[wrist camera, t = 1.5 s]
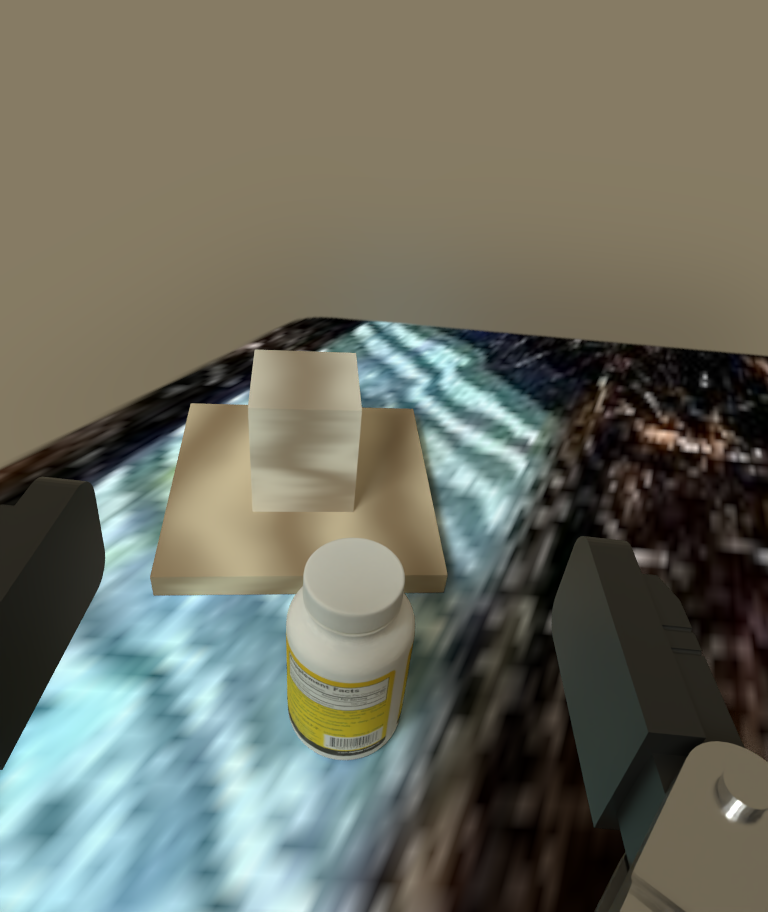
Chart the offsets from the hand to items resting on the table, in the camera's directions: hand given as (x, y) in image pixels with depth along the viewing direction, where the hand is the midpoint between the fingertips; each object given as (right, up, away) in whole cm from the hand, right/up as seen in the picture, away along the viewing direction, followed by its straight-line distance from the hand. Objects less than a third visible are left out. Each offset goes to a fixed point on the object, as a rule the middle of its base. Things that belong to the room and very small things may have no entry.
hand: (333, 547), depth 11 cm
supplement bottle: (-1, -11, +21) cm, 24 cm away
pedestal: (-4, -1, +32) cm, 33 cm away
